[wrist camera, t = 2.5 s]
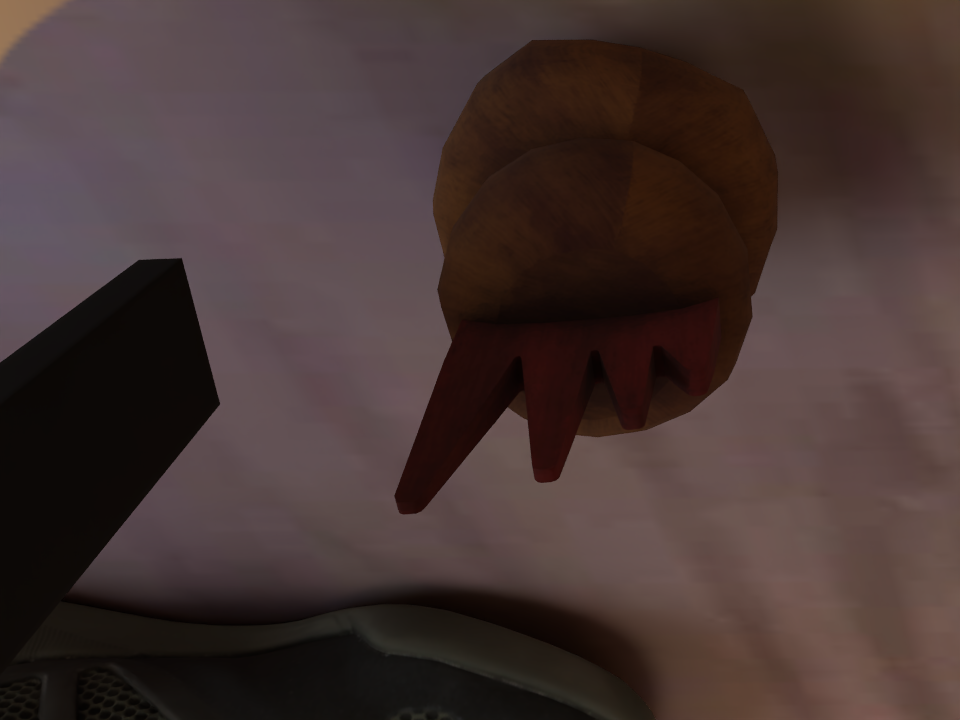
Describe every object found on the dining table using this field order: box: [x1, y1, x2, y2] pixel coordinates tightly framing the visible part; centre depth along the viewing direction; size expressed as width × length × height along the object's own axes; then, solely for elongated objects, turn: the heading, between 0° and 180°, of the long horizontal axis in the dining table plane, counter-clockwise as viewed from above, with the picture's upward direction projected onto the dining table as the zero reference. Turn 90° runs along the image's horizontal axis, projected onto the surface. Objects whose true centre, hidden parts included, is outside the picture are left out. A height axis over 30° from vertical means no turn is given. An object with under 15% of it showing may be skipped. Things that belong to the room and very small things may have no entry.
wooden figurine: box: [395, 40, 778, 514], centre depth 16 cm, size 7×6×15 cm
